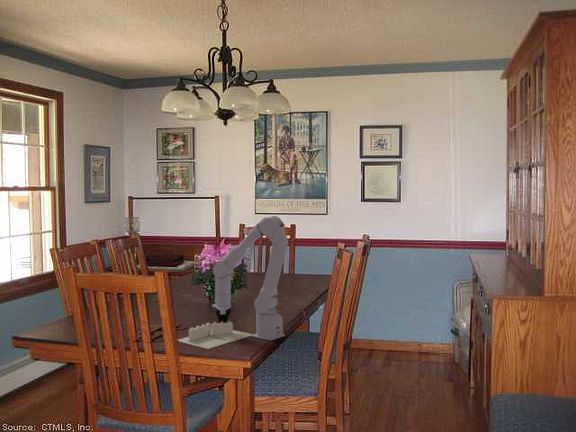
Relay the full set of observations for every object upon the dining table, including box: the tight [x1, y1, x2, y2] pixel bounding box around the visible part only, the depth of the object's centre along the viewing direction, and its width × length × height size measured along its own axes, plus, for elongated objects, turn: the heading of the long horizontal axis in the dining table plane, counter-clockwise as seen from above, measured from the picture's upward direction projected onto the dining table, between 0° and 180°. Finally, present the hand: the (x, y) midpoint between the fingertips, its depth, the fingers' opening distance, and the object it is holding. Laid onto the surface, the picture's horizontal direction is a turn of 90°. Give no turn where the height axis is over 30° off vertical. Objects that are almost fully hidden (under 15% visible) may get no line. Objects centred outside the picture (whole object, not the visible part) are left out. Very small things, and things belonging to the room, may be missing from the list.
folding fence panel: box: [211, 320, 234, 335], centre depth 215 cm, size 8×1×5 cm, turn 113°
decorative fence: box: [137, 323, 188, 343], centre depth 218 cm, size 23×2×15 cm
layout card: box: [177, 329, 255, 350], centre depth 211 cm, size 17×23×1 cm
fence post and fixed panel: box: [188, 322, 212, 341], centre depth 210 cm, size 2×10×5 cm, turn 141°
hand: (223, 329), depth 217 cm, fingers closed
